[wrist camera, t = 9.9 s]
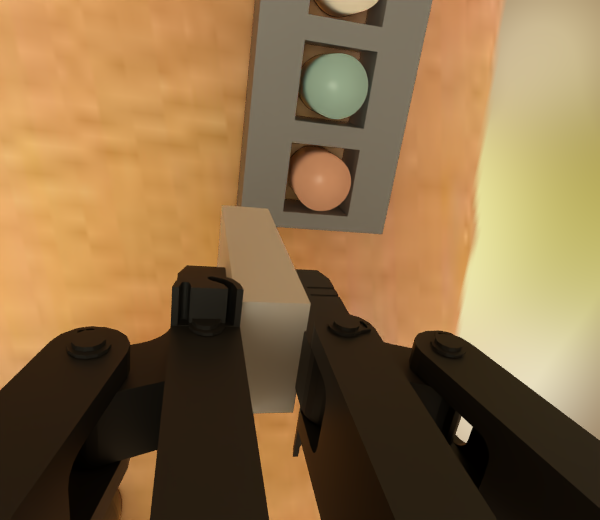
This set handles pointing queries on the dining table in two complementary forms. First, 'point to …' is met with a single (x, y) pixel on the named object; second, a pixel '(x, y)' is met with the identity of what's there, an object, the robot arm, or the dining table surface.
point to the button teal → (333, 85)
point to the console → (349, 135)
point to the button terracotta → (318, 178)
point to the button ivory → (344, 6)
